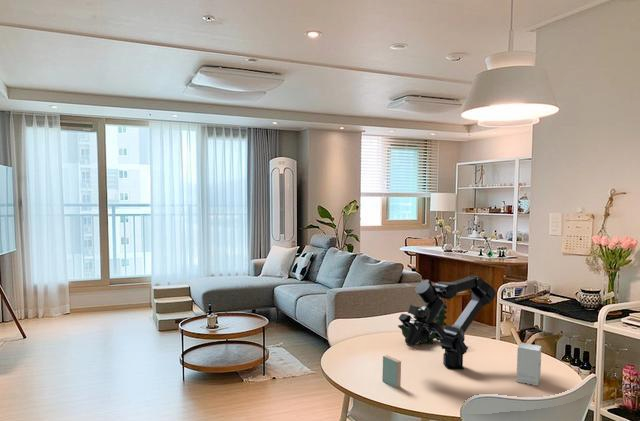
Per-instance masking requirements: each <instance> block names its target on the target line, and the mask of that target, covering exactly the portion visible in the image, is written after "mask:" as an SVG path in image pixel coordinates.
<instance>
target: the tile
mask: <svg viewBox="0 0 640 421" xmlns="http://www.w3.org/2000/svg"><path fill="white" fill-rule="evenodd" d="M401 375H402V360H399V359H397V358H395V357H392V356H389V355H383V356H382V376H381V378H382V382H383V383H385V384H386V385H389V386H392V387H394V388H395V389H398V388H401V384H402V383H401V381H402V380H401V378H402V376H401Z"/></svg>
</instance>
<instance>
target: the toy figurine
mask: <svg viewBox="0 0 640 421" xmlns="http://www.w3.org/2000/svg"><path fill="white" fill-rule="evenodd" d="M446 314H448V311H447V310H446V309H443V308H442V309H441V311H440V312H439V314H438V315H437V318H438V320H437V321H436V320H434V323H437V324H440V325H441V327H442V328H443V326H444V327H445V326H446V325H447V323H446V322H445V320H447V319H448V317H447V316H446ZM397 327H398V328H399V329H400V330H401V334H402V336H403V337H404V342H405V344H407V340H408V335H409V328H406V327H405V326H404V325H403V324H399V325H397ZM443 329H444V328H443ZM435 339H436V341H439V342H440V338H437V337H436V333H435V332H432V333H431V337H428V338H426V339H424V340H422V341H420V343H421V344H423V345H425V344H427V342H428V343H429V344H431V345H432V344H434V343H435V341H434V340H435ZM409 346H411V345H410V344H409Z"/></svg>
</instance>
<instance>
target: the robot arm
mask: <svg viewBox="0 0 640 421" xmlns="http://www.w3.org/2000/svg"><path fill="white" fill-rule="evenodd" d="M414 290H415V292H416V294H417V296H419V298H420V299H421V300H422V303H425V305H423V306H417V305H414V304H410V305H409V307H408V311H407V314H406V313H401V314H400V315H399V317H398V320H399V321H400V323H401V324H402V325H404V326H405V327H406V328H409V335H408V340H407V343H406V345H409V344H410V345H409V346H411V347H413V346H415V345H416V344H418V343H419V342H420V343H421V341H422V340H424V339H426V338H428V337H431V333H432V332H435V333H436V337H437V338H440V340H439V342H440V347H441V349H442V350H444V352H443V357H442V359H443V360H442V363H443V365H444V366H445V367H446V369H447V370H464V369H465V367H464V365H463V364H464V355H465V354H466V353H467V352H468V345H466V343H465V337H466V336H465V333H466V331H467V330H468V328H469V327H470V326H471V324H472V322H473V321H474V319H475V318H476V317H477V315H478V314H479V313H480V312H481V309H482V308H484V307H485V306H487V305H489V304H490V303H491V302H492V301H493V300H494V299H495V298H496V290H495V288H494V286H492V285H491V284H489V283H488V282H486V281H485V280H483V278H482V277H480V276H476V275H468V276H467V277H464V278H460V279H457V280H454V281H437V282H435V283H434V285H433V283H432V281H431V280H430V279H425V280H424V281H422V282H420V283H418V284H417V285H416V286H415V288H414ZM467 290H470V292H471V299H470V301H469V302H468V304H467V305H466V306H465V308H464V310H463V311H462V312H461V314H460V315H459V316H458V318H457V319H456V321H455V322H454V324H452V325H450V324H446V326H444V328H442V327H441V325H440V324H437V323H435V320H436V321H437V320H438V318H437V315H438V314H439V312H440V311H441V309H442V308H443V309H445V310H447V309H448V306H447V302H446V301H444V300H443V299H446V300H452V299H454V298H455V297H457V294H458V293H461V292H464V291H467ZM410 314H411V315H412V316H411V315H410ZM413 318H414V319H413Z"/></svg>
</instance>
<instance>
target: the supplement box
mask: <svg viewBox="0 0 640 421" xmlns="http://www.w3.org/2000/svg"><path fill="white" fill-rule="evenodd" d="M516 352H517V355H516V356H517V358H516V382H517V383H520V384H525V383H527V384H526V385H530V384H532V385H531V386H535V385H538V386H539V384H540V381H541V372H542V370H541V368H542V367H541V366H542V346H541V345H538V344H533V343H532V344H530V343H524V342H520V343H519V345H518V346H517V351H516Z"/></svg>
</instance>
